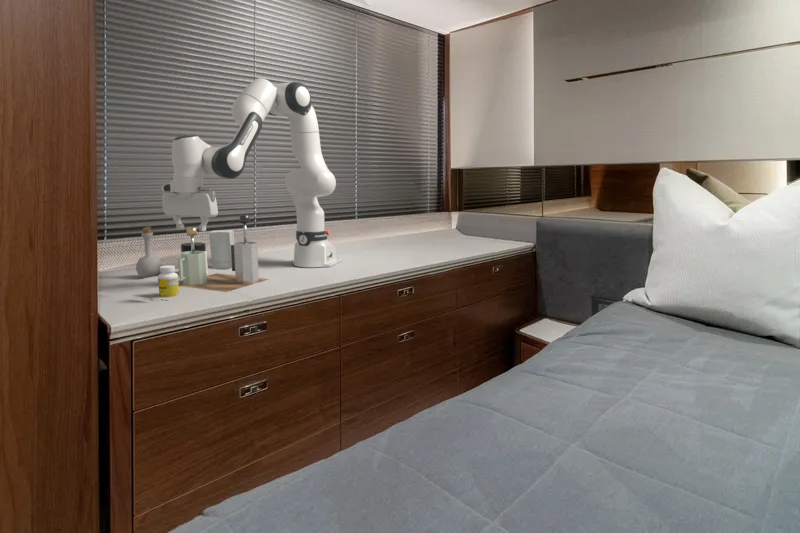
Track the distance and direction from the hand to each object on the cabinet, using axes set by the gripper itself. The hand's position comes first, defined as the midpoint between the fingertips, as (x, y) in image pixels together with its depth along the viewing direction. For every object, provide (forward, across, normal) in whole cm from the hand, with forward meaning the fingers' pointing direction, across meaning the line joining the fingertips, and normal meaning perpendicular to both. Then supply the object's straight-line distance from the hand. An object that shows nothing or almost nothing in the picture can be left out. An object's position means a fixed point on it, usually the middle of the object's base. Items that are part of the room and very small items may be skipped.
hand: (191, 230), depth 160 cm
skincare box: (+19, +14, -29) cm, 37 cm away
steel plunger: (+6, -14, -9) cm, 18 cm away
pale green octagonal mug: (+17, 0, +1) cm, 17 cm away
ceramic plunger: (+9, 0, 0) cm, 9 cm away
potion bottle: (+19, +25, -4) cm, 32 cm away
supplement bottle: (+19, -6, +16) cm, 25 cm away
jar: (+19, +11, -11) cm, 24 cm away
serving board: (+19, -7, -5) cm, 20 cm away
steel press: (+17, -13, -9) cm, 24 cm away
